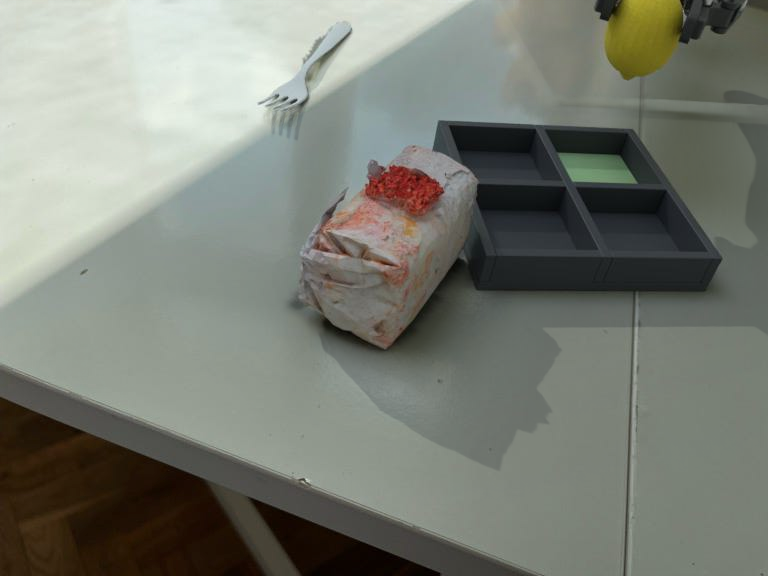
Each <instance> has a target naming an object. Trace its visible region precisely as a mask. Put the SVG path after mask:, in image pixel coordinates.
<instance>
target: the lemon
mask: <svg viewBox="0 0 768 576" xmlns="http://www.w3.org/2000/svg"><path fill="white" fill-rule="evenodd" d="M683 25H684V22H683V9H682V4H681V2H680V0H620V1H619V3H618V4H617V5H616V7H615V9H614V11H613V13H612V15H611V17H610V19H609V21H607V26H606V29H605V32H604V39H603V40H604V41H603V43H604V44H603V46H604V51H605V55H606V58H607V61H608V62H609V64H610V66H612V67H613V68H614V70H616V71H617V72H618V73H619V75H620V76H621V78H622V80H625V81H630V80H633V79H635V78H637V77H638V78H639V77H646V76H649V75H651V74H654V73H655V72H657V71H658V70H660V69H662V68H663V67H664V66H665V65H666V64H667V63H668V61H669V60H670V59H671V57H672V56H673V54H674V52H675V50H676V49H677V46H678V44H679V42H678V41H679V38H680V34H681V31H682V28H683Z"/></svg>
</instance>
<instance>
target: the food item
mask: <svg viewBox="0 0 768 576" xmlns="http://www.w3.org/2000/svg"><path fill="white" fill-rule="evenodd" d="M366 167H367V174H366V175H365V177H366V178H367V180H368V183H367V182H366V183H365V184H364V186H363V188H361V190H360V191H359V192H357V193H356V194H355V195H354V196H353V197H352V199H351V200H350V201H349V202H348V203H346V205H345V206H343V207H342V208H341V209H340V210H339V211H337V212H336V213H335V211H336V210H337V207H338V205H339V204H340V203H341V202H343V201H344V200H345V197H346V194H347V191H348V189H349V188H350V186H348V187H346V188H344V190H342V191H341V193H340V194H338V195H337V196H336V197H335V198H334V199H333V200H332V201H331V202H330V203H329V204H328V205H327V206H326V207H325V208H324V210H323V213H322V215H321V217H320V219H319V221H318V223H316V225H315V226H314V228H313V229H312V230H311V232H310V233H309V235H308V237H307V239H306V242H305V244H303V243H302V246H301V248H300V252H299V256H300V260H301V265H300V268H299V271H298V282H299V286H298V291H297V297H298V300H299V302H300V303H302V304H303V305H304V307H307V306H310V307H312V308H313V309H314V310H315V312H318V313H319V314H320V315H322V316H324V317H325V318H326V319H327V320H328V321H329V322H330V323H331V324H332V325H333V326H335V327H337V328H338V329H341V330H343V331H349V332H351V333H352V334H353V335H355V336H357V337H359V339H361V340H363V341H365V342H368V343H369V344H371V345H374V346H376V347H378V348H380V349H383V350H387V349H388V348H389V347H391V346H392V345H393V344H394V342H395V341H396V340H397V338H398V337H399V336H401V335H402V333H403V332H404V331H405V330H406V329H407V327H409V325H410V324H411V323H412V322H413V321H414V319H415V318H416V317H417V315H418V314H419V312H420V311H421V310H422V309H423V307H424V306H425V304H426V303H427V302H428V301H429V299H430V297H431V296H432V294H433V293H434V292H435V290H436V289H437V288H438V286H439V285H440V283H441V282H442V281H443V279H444V278H445V277H446V275H447V273H448V272H449V270H450V269H451V268H452V267H453V266H454V264H455V262H456V261H457V259H458V258H459V256H460V255H461V253H462V251H464V249H463V248H464V246H465V244H466V241H467V238H468V234H469V227H470V221H471V216H472V215H473V208H474V205H475V199H476V196H477V184H478V183H479V181H478V179H476V178H475V175H474V174H473V173H472V172H471V171H470V170H469V169H468V168H467V167H465V166H463V165H461V164H460V163H458V162H456V161H455V160H453V159H452V158H450V157H449V156H447V155H445V154H443V153H440V152H435V151H432V149H429V148H425V147H422V146H419V145H416V144H414V145H413V144H411V145H408V146H405V147H404V148H403V150H402V151H401V152H400V153H399V154H398V155H397V156H396V157H395V158H393V159H392V160H391V161H390V162H389V163H388V164H387V165H386V166H385V167H384V166H383V165H379V163H378V161H377V160H374V159H372V158H371V159H370V160H369V162H368V165H367V166H366ZM334 213H335V214H334Z"/></svg>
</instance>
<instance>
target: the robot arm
mask: <svg viewBox="0 0 768 576" xmlns="http://www.w3.org/2000/svg"><path fill="white" fill-rule="evenodd" d="M619 1H620V0H595V3H594V6H593V10H594V11H595V12H596V13H600V15H599V20H601V21H604V22H609V19H610V17H611V15H612V13H613V11H614V9H615V7H616V6H617V4H618V3H619ZM748 1H749V0H716V1H715V0H680V2H681V4H682V9H683V27H682V31H681V34H680V38H679V41H678V43H680V44H681V43H682V44H685V45H688V43H689V42H690V39H691V40H695V41H697V40H700V39H701V37H702V34H703V33H704V32H703V31H704V30H705V28H706V27H710V28H709V30H710V31H711V32H712V33H714V34H717V35H725V34H727V32H728V31H729V30H730V29H731V28H732V26H733V25H734V24H735V23H737V21H738V20H739V19H740V18H741V16H742V14H743V13H744V10H745V8H746V6H747V3H748Z"/></svg>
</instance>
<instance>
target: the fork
mask: <svg viewBox="0 0 768 576" xmlns="http://www.w3.org/2000/svg"><path fill="white" fill-rule="evenodd" d="M351 30H352V25H351V24H350V23H347V22H339V23H336V24H334V25H333V26H332V27H331V29H330V30H329V31H328V33H327V34H326V36H325V37H324V39H323V40H322V42H320V44H319V45H318V47H317V48H316V50H315V51H314V52H313V53H312V55H311V56H310V57H309V58H308V59H307V60H306V61H305V62H304V63H303V65H302V66H301V67H300V69H299V70H298V72H297V73H296V75H294V77H292V78H291V79H290V80H288V81H287V82H285V83H283V84H282V85H280V86H278V87H277V88H276V89H274V90H273V91H272V92H271V93H270V94H269V96H267V97H265V98H263V99H262V100H260V101H258V102H257V106H260V105H262V104H263V105H264V108H269V107H271V106H273V105H274V106H273V107H272V110H277V109H280V110H279V111H280V112H285V111H288V110H290V109H292V108H295V107H296V106H299V105H300V104H302V103H303V102H305V101H306V100H307V98H308V96H309V91H308V88H307V85H306V75H307V73H308V70H309V69H310V67H312V65H313V64H314V63H316V62H317V61H318V60H319V59H321V58H322V57H323V56H324V55H326V54H327V53H329V52H330V51H331V50H332V49H334V48H335V46H337V44H339V43H340V42H341V41H342V40H343V39H345V37H347V35H348V34H350V33H351ZM276 96H278V97H277V98H276V99H274V98H275V97H276ZM272 99H273V100H272ZM284 99H286V100H285V101H283V100H284ZM270 100H272V101H270ZM269 101H270V102H269ZM281 101H283V102H281ZM294 101H295V102H294ZM267 102H268V103H267ZM279 102H281V103H279ZM292 102H294V103H292ZM277 103H279V104H277ZM290 103H291V104H290ZM275 104H277V105H275ZM288 104H290V105H288ZM286 105H288V106H286ZM284 106H285V107H284ZM282 107H283V108H282Z"/></svg>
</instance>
